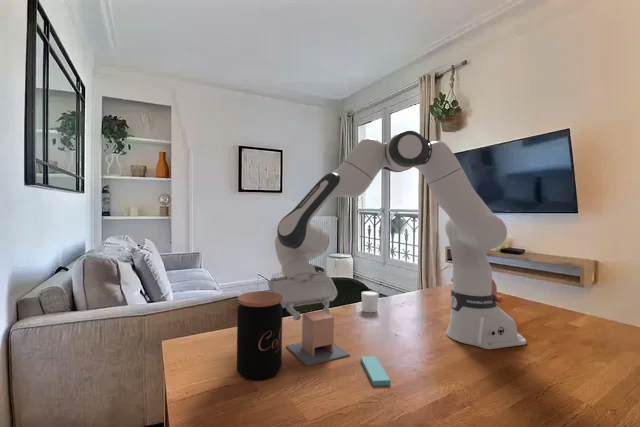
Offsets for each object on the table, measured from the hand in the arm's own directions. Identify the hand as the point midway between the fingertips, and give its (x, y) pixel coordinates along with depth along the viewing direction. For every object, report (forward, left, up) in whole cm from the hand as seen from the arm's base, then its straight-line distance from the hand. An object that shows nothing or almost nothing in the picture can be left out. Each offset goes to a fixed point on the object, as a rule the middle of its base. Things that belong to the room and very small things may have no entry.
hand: (312, 316), depth 93 cm
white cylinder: (-25, -33, -9) cm, 42 cm away
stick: (-14, +15, -9) cm, 22 cm away
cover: (-1, +2, -8) cm, 9 cm away
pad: (-1, +2, -9) cm, 9 cm away
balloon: (-69, -37, -9) cm, 79 cm away
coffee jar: (+14, +12, -9) cm, 21 cm away
